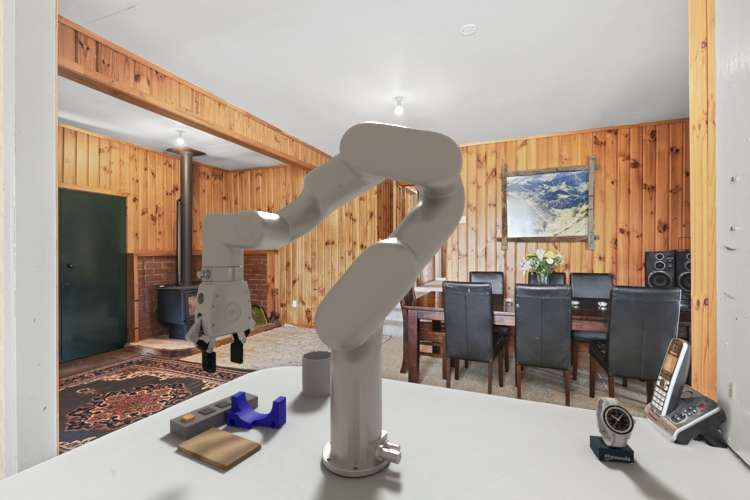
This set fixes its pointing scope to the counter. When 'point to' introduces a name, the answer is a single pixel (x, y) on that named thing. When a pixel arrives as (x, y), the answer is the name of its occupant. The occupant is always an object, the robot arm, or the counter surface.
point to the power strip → (205, 417)
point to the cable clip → (255, 413)
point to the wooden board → (219, 448)
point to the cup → (316, 373)
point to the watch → (613, 432)
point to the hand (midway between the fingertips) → (223, 366)
